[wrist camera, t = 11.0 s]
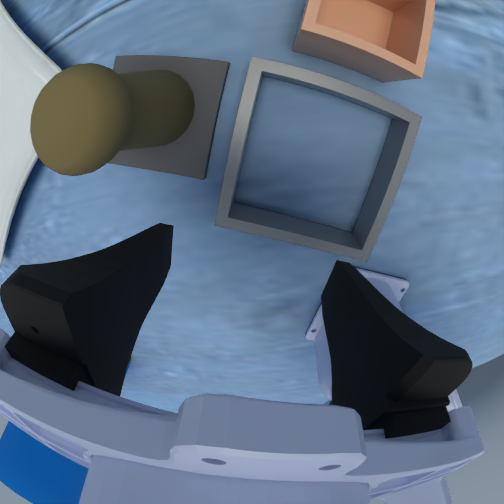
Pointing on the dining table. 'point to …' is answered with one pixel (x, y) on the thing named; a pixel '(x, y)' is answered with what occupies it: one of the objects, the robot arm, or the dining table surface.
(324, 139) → the dining table surface
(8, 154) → the square plate
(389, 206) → the grey rectangular frame
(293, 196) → the dining table surface
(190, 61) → the dark grey rubber mat
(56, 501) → the thermos
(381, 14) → the terracotta pot
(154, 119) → the cork
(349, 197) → the dining table surface
